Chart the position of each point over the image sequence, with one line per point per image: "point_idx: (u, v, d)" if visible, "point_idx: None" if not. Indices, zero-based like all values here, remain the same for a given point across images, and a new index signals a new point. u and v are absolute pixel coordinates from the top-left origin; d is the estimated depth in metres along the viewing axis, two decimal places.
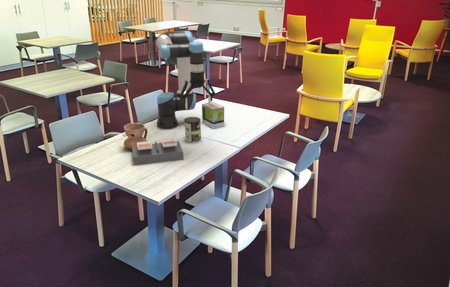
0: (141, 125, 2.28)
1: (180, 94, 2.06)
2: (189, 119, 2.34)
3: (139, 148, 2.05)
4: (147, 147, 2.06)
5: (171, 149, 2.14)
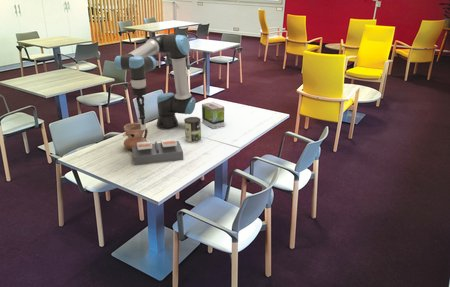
0: None
1: None
2: (189, 119, 2.34)
3: (139, 148, 2.05)
4: (147, 147, 2.06)
5: (171, 149, 2.14)
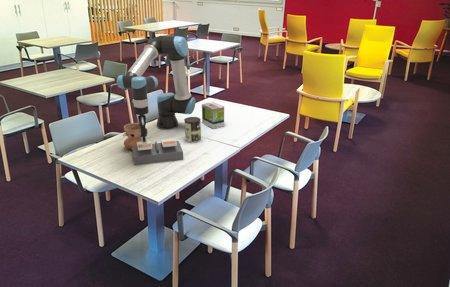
0: None
1: None
2: (189, 119, 2.35)
3: (139, 149, 2.05)
4: (147, 148, 2.06)
5: (171, 149, 2.14)
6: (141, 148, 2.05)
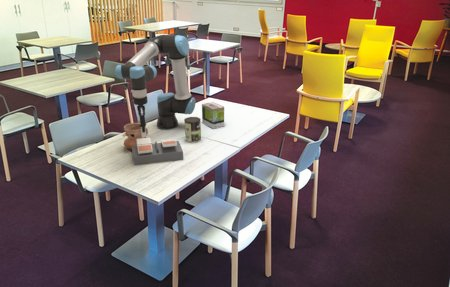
0: None
1: None
2: (189, 119, 2.34)
3: (139, 152, 2.06)
4: (147, 151, 2.07)
5: (171, 149, 2.14)
6: (141, 151, 2.06)
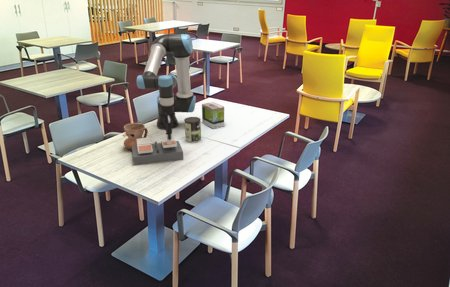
0: (141, 125, 2.28)
1: None
2: (189, 119, 2.34)
3: (139, 152, 2.06)
4: (147, 151, 2.07)
5: (171, 149, 2.14)
6: (141, 152, 2.06)
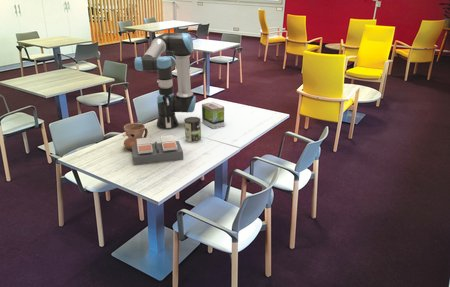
0: (141, 125, 2.28)
1: None
2: (189, 119, 2.35)
3: (139, 152, 2.06)
4: (147, 151, 2.07)
5: None
6: (141, 152, 2.06)
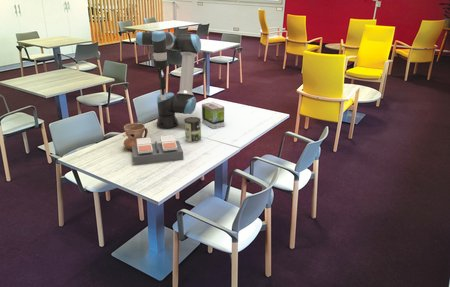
0: (141, 125, 2.28)
1: None
2: (189, 119, 2.34)
3: (139, 152, 2.06)
4: (147, 151, 2.07)
5: None
6: (141, 152, 2.06)
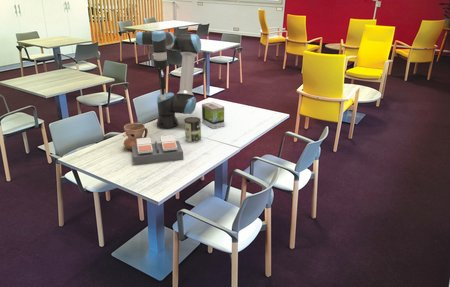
0: (141, 125, 2.28)
1: None
2: (189, 119, 2.34)
3: (139, 152, 2.06)
4: (147, 151, 2.07)
5: None
6: (141, 152, 2.06)
